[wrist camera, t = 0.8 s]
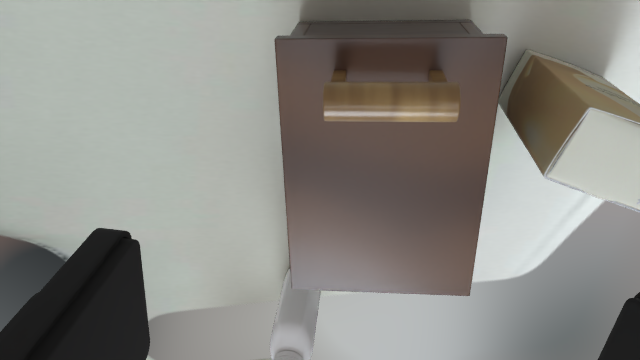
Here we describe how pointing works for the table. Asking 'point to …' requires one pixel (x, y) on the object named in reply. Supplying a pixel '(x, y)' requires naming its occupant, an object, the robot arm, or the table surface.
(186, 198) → the table surface
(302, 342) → the eye dropper bottle
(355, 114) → the lid
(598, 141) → the cosmetic box
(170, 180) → the table surface
